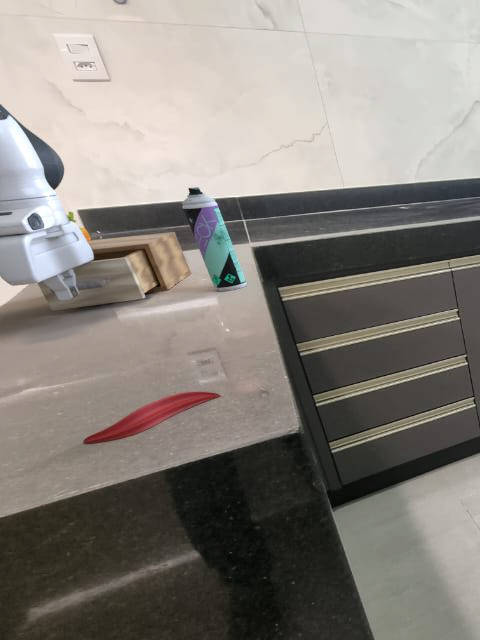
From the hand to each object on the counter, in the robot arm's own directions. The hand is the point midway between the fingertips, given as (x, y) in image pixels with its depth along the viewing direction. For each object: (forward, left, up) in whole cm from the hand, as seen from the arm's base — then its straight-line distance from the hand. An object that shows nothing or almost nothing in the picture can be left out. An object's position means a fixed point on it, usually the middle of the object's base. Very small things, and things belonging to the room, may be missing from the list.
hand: (70, 297), depth 92 cm
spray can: (+20, +12, -4) cm, 24 cm away
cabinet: (0, +26, -4) cm, 26 cm away
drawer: (0, +13, -3) cm, 13 cm away
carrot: (-16, +48, -4) cm, 50 cm away
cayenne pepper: (+27, -53, -4) cm, 60 cm away
